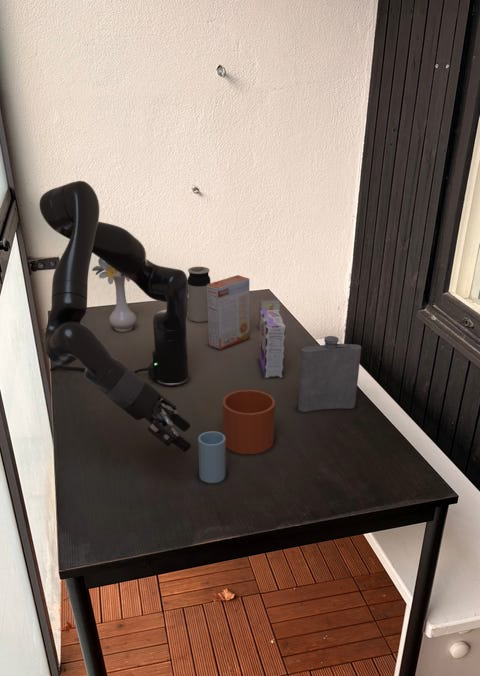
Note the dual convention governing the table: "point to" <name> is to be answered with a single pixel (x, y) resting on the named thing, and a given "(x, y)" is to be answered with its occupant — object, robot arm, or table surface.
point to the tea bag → (268, 306)
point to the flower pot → (248, 421)
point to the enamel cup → (212, 456)
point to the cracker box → (228, 311)
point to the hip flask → (328, 376)
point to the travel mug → (198, 293)
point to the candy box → (272, 343)
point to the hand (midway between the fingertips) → (188, 438)
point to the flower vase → (117, 298)
